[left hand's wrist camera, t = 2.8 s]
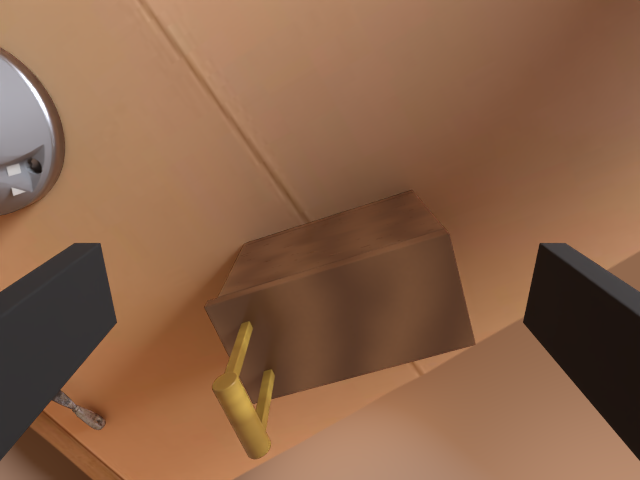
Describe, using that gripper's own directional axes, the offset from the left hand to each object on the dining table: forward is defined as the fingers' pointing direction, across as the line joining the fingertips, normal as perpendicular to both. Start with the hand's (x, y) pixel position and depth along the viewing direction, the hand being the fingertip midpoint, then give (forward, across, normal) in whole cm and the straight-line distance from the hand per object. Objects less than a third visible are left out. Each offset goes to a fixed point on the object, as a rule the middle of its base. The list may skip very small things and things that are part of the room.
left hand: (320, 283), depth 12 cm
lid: (+15, -2, +11) cm, 19 cm away
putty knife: (+26, +28, +29) cm, 48 cm away
